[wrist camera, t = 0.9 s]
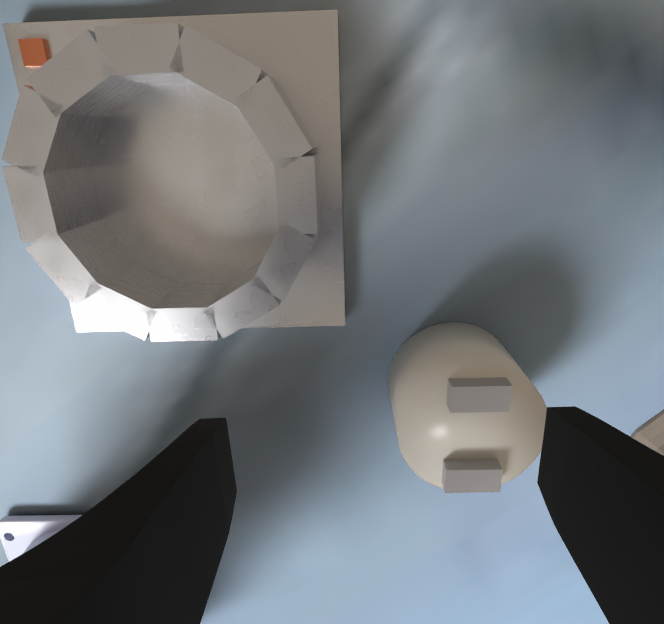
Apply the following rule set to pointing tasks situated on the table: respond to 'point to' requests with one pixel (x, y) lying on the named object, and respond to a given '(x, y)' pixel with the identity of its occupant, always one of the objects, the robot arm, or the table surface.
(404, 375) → the beige rounded cylinder
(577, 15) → the table surface
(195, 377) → the table surface
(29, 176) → the ring mount
